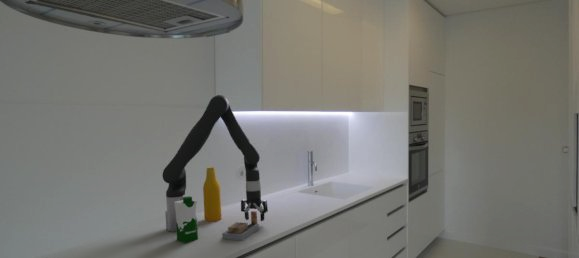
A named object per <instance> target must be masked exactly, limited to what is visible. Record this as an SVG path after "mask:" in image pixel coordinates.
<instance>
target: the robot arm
mask: <svg viewBox="0 0 579 258" xmlns="http://www.w3.org/2000/svg"><path fill="white" fill-rule="evenodd" d="M232 110H233V109H232V107H231V105H230V102H229V100H228V98H227V97H226V96H224V95H222V94H217V95H214V96H213V97H211V99H210V100H209V102H208V104H207V106H206V108H205V110H204V112H203V114H202V116H201V117H200V119H199V120H198V121H197V122H196V123H195V124H194V126H193V127H192V128H191V130H190V131H189V133H188V134H187V136H186V137H185V139H184V140H183V142H182V144H181V145H180V147H179V149H178V150H177V152H176V154H175V155H174V157H173V158H171V160H170V161H169V163H168V164H167V165H166V166H165V168H164V169H163V170H162V175H161V176H162V180H163V181H164V182H165V183H166V184H168V187H167V189H166V191H165V196H166V200H165V201H166V211H165V228H166V231H168V232H173V233H174V232H175V233H177V228H176V211H175V204H174V202H176V201H181V200H183V198H184V197H186V191H187V174H186V173H187V171H186V169H185V167H186V166H187V165H188V163H190V161H191V160H192V159H193V158H194V157H195V156H196V155H197V154H199V152H200V151H201V149H202V148H203V147H204V145H205V144H206V142H207V141H208V139H209V137H210V136H211V133H212V131H213V128H214V126H215V125H216V123H217V122H218V121H219V120H220V118H221V120H222V122H223V123H224V124H225V127H226V129H227V131H228V134H229V135H230V137H231V139H232V141H233V143H234V144H235V146H236V147H237V149H238V150H239V151H241V153H242V156H243V163H244V168H245V169H244V170H245V198H246V199H244V198H243V199H242V200H240V211H241V212H243V213H244V218H245V220H246V221H248V220H249V219H250V213H249V211H250V210H257V211H259V213H260V216H259V217H260V222H263V221H264V220H265V214H266V213H268V212H269V209H268V208H269V207H268V200H262V195H261V193H262V192H261V190H262V189H261V188H262V187H261V180H260V171H259V169H258V168H259V167H258V163H259V161H260V157H261V156H260V154H259V152H258V151H257V150H256V148H255V147H254V145H253V143H251V141H250V139H249V137H248V136H247V134H246V132H245V131H244V129H243V128H242V126H241V125H240V123H239V122H238V119H237V118H236V116H235V115H234V112H233V111H232ZM246 204H247V206H246Z"/></svg>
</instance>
